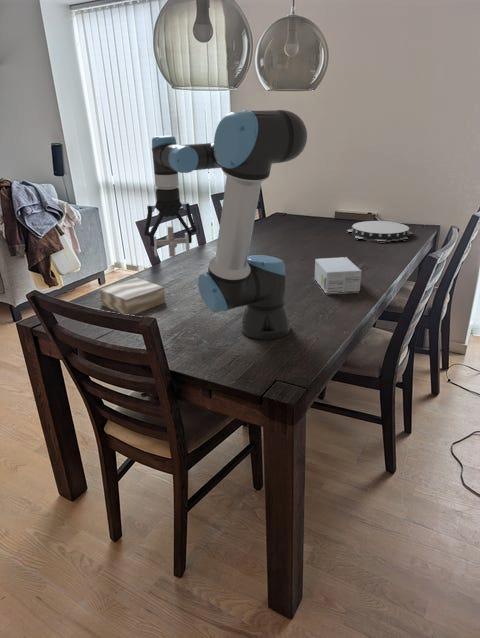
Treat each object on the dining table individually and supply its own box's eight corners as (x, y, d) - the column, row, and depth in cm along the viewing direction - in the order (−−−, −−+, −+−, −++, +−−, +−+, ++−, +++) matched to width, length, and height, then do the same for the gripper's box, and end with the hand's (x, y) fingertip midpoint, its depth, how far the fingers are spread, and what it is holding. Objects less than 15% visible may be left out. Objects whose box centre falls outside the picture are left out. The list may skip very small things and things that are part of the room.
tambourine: (370, 226, 273) (371, 217, 271) (424, 235, 251) (425, 226, 249) (335, 237, 252) (335, 227, 250) (390, 248, 230) (391, 238, 228)
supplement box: (313, 281, 188) (314, 258, 184) (345, 279, 189) (347, 256, 185) (325, 296, 172) (326, 271, 169) (360, 294, 174) (362, 269, 170)
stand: (165, 302, 169) (163, 287, 167) (128, 316, 159) (125, 299, 156) (138, 292, 179) (136, 277, 177) (101, 304, 169) (99, 289, 166)
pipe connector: (183, 250, 167) (181, 222, 163) (189, 258, 158) (188, 229, 154) (155, 253, 164) (152, 225, 160) (160, 261, 155) (157, 231, 151)
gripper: (199, 183, 157) (202, 248, 167) (130, 187, 152) (137, 253, 161) (204, 187, 151) (206, 254, 160) (132, 191, 145) (139, 260, 155)
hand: (172, 253), depth 161 cm, fingers closed on pipe connector, 10 cm apart
